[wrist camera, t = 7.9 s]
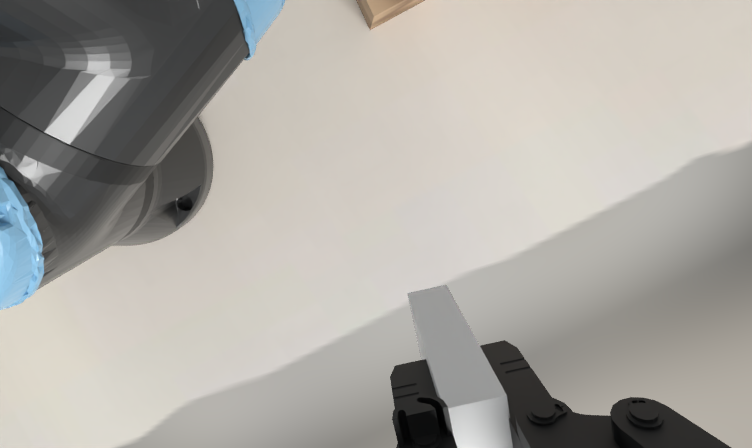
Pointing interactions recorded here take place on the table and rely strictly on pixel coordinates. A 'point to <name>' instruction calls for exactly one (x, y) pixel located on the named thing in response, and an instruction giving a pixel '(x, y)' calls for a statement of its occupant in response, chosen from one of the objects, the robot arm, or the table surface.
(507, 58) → the table surface
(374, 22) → the wooden letter cube
